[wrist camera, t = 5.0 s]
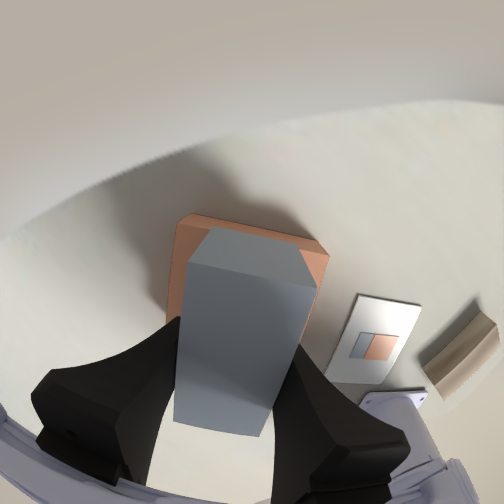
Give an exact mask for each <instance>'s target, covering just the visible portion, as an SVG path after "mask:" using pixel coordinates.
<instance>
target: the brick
mask: <svg viewBox="0 0 504 504" xmlns="http://www.w3.org/2000/svg"><path fill="white" fill-rule="evenodd" d="M500 346H501V344H500V339H499V333H498V329H497V324H496V323H495V322H493V321H492V320H491V319H490V318H489V317H487V316H486V315H485V314H484V313H482V312H481V311H480V312H479V313H478V314H477V315H476V316H475V318H474V319H473V320H472V321H471V322H470V323H469V324H468V325H467V326H466V327H465V328H464V329H463V330H462V331H461V332H460V333H459V334H458V335H457V336H456V337H455V338H454V339H453V340H452V341H451V342H450V343H449V344H448V345H447V346H446V347H445V348H444V349H443V350H442V351H441V352H440V353H439V354H437V355H436V356H435V357H434V358H433V359H432V360H431V361H430V362H428V363H427V364H426V365H425V366H424V367H423V368H422V369H423V370H424V372H425V373H426V375H427V376H428V378H429V379H430V381H431V382H432V383H433V385H434V386H435V388H436V389H437V391H438V392H439V394H440V395H441V397H442V399H443V400H445V399H446V398H448V397H449V396H450V395H451V394H452V393H454V392H455V391H456V390H457V389H458V388H459V387H460V386H461V385H463V384H464V383H465V382H466V381H467V380H468V379H469V378H470V377H471V376H472V375H473V374H474V373H475V372H476V371H477V370H478V369H479V368H480V367H481V366H482V365H483V364H484V363H485V362H486V361H487V360H488V359H489V358H490V357H491V356H492V355H493V354H494V352H495V351H496V350H497V349H498V348H499V347H500Z"/></svg>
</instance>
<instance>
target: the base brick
mask: <svg viewBox="0 0 504 504" xmlns="http://www.w3.org/2000/svg"><path fill="white" fill-rule="evenodd" d="M213 226H215V227H220V228H224V229H229V230H234V231H239V232H243V233H248V234H253V235H257V236H262V237H266V238H271V239H275V240H280V241H285V242H289V243H293V244H297V246H298V248H299V250H300V252H301V254H302V256H303V258H304V260H305V262H306V264H307V266H308V268H309V270H310V273H311V275H312V277H313V279H314V281H315V283H316V285H317V287H318V290H317V293H316V296H315V299H314V302H313V305H314V303H315V300H316V297H317V294H318V291H319V288H320V285H321V282H322V279H323V275H324V272H325V269H326V266H327V263H328V259H329V255H328V253H327V252H326V251H325V250H324V248H323V247H322V246H321V245H320V243H319V242H318V241H315V240H311V239H306V238H302V237H298V236H293V235H289V234H284V233H280V232H276V231H271V230H267V229H262V228H257V227H253V226H248V225H244V224H239V223H234V222H229V221H225V220H220V219H215V218H210V217H205V216H200V215H195V214H189V215H188V216H186V217H185V218H183V219H182V220H180V221H179V222H178V223H177V226H176V233H175V240H174V247H173V255H172V263H171V272H170V281H169V291H168V302H167V314H166V324H167V323H168V322H170V321H171V320H172V319H173V318H174V317H176V316H180V317H181V311H182V302H183V294H184V286H185V278H186V271H187V264H188V260H189V259H190V257H191V256H192V255H193V253H194V252H195V251H196V249H197V248H198V246H199V245H200V244H201V242H202V241H203V240H204V238H205V237H206V235H207V234H208V233H209V231H210V230H211V229H212V227H213ZM313 305H312V308H313ZM312 308H311V311H312ZM311 311H310V314H311ZM310 314H309V316H308V319H307V322H308V320H309V317H310ZM307 322H306V325H307ZM306 325H305V328H306ZM305 328H304V330H303V333H304V331H305ZM303 333H302V336H303ZM302 336H301V338H300V341H301V339H302ZM300 341H299V344H300Z"/></svg>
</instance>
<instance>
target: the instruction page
mask: <svg viewBox="0 0 504 504" xmlns="http://www.w3.org/2000/svg"><path fill="white" fill-rule="evenodd" d="M421 309H422V306H418V305H412V304H406V303H401V302H395V301H389V300H384V299H378V298H372V297H367V296H361V295H358V297H357V300H356V303H355V305H354V308H353V310H352V313H351V315H350V318H349V320H348V322H347V325H346V327H345V330H344V332H343V334H342V336H341V339H340V341H339V343H338V345H337V348H336V350H335V352H334V354H333V356H332V359H331V361H330V363H329V365H328V367H327V369H326V371H325V373H324V376H325V377H326V378H327V379H328V380H329V381H330V382H336V383H355V384H382V382H383V381H384V379H385V377H386V376H387V374H388V373H389V371H390V369H391V367H392V366H393V364H394V362H395V360H396V359H397V357H398V355H399V353H400V351H401V350H402V348H403V346H404V344H405V342H406V340H407V338H408V336H409V334H410V332H411V330H412V328H413V326H414V324H415V322H416V320H417V318H418V315H419V313H420V311H421Z"/></svg>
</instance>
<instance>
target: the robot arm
mask: <svg viewBox="0 0 504 504" xmlns="http://www.w3.org/2000/svg"><path fill="white" fill-rule="evenodd" d="M180 320H181V317H180V316H176V317H174V318H173V319H172V320H171V321H170V322H168V323H167V324H166V325H165V326H163V327H162V328H161V329H159V330H158V331H157V332H155V333H154V334H152V335H151V336H150V337H148V338H147V339H145V340H143V341H142V342H140V343H139V344H137V345H135V346H134V347H132V348H130V349H128V350H126V351H124V352H122V353H120V354H117V355H115V356H112V357H109V358H106V359H104V360H101V361H98V362H94V363H90V364H86V365H82V366H76V367H70V368H61V369H51V370H50V371H49V372H48V373H47V374H46V375H45V377H44V378H43V379H42V380H41V382H40V383H39V384H38V385H37V387H36V388H35V389H34V391H33V392H32V393H31V401H32V404H33V407H34V409H35V411H36V413H37V415H38V416H39V418H40V420H41V422H42V424H43V426H44V428H43V429H42V431H41V432H40V434H39V435H38V436H36V435H34V434H33V433H31V432H30V431H28V430H27V429H25V428H24V427H23V426H21V425H20V424H18V423H17V422H16V421H14V420H13V419H11V418H10V417H9V416H8V415H7V412H6V411H5V409H4V407H3V406H2V405H1V403H0V475H1V476H3V477H4V478H5V479H6V480H7V481H9V482H10V483H11V484H13V485H14V486H15V487H17V488H18V489H19V490H20V491H22V492H23V493H25V494H26V495H27V496H29V497H30V498H32V499H33V500H34V501H36V502H37V503H39V504H226V503H219V502H212V501H206V500H200V499H195V498H189V497H185V496H180V495H176V494H172V493H168V492H164V491H160V490H157V489H153V488H150V487H146V481H147V476H148V471H149V467H150V463H151V458H152V454H153V450H154V446H155V443H156V439H157V435H158V431H159V428H160V424H161V421H162V417H163V415H164V412H165V409H166V407H167V405H168V402H169V400H170V398H171V395H172V393H173V391H174V388H175V377H176V363H177V351H178V340H179V330H180ZM427 395H428V392H427V390H423V391H405V392H370V393H368V394H367V395H366V396H365V397H364V399H363V400H362V402H361V403H360V405H359V406H357V405H356V404H354V403H353V402H352V401H350V400H349V399H348V398H347V397H345V396H344V395H343V394H342V393H341V392H340V391H339V390H338V389H337V388H336V387H335V386H333V385H332V383H331V382H330V381H329V380H328V379H327V378H326V377H325V376H324V375H323V374H322V372H321V371H320V370H319V369H318V368H317V366H316V365H315V364H314V363H313V361H312V360H311V359H310V357H309V356H308V355H307V353H306V352H305V351H304V349H303V348H302V346H301V345H300V344H298V346H297V349H296V351H295V354H294V357H293V359H292V362H291V364H290V367H289V369H288V372H287V374H286V377H285V379H284V381H283V384H282V386H281V389H280V391H279V393H278V396H277V398H276V400H275V402H274V405H273V407H272V410H273V419H274V428H275V456H274V474H273V486H272V496H271V504H479V499H478V496H477V493H476V491H475V489H474V487H473V484H472V482H471V480H470V478H469V476H468V474H467V472H466V470H465V468H464V466H463V465H462V463H461V461H460V460H459V459H453V458H450V459H449V460H448V461H447V462H445V461H444V460H443V459H442V457H441V455H440V453H439V451H438V449H437V447H436V445H435V443H434V441H433V439H432V437H431V435H430V433H429V431H428V429H427V427H426V425H425V423H424V421H423V419H422V418H421V416H420V414H419V412H418V410H417V409H418V408H419V406H420V405H421V404H422V402H423V401H424V399H425V398H426V397H427Z"/></svg>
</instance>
